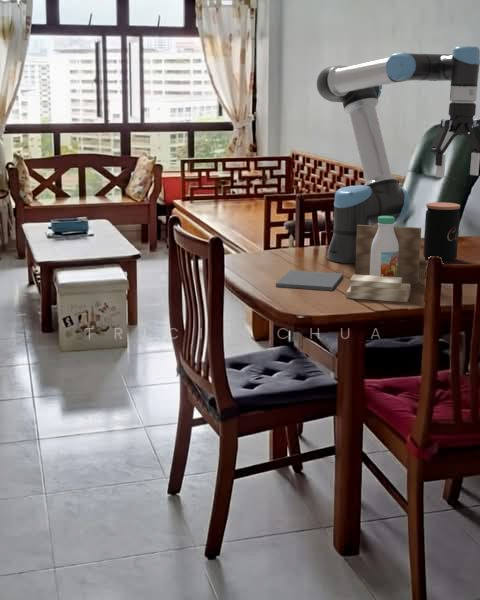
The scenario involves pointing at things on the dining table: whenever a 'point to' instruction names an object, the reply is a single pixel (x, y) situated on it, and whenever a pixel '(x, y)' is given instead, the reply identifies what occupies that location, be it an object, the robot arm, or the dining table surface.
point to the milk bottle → (384, 249)
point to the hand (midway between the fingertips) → (457, 176)
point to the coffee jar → (441, 230)
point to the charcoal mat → (310, 280)
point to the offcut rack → (382, 285)
